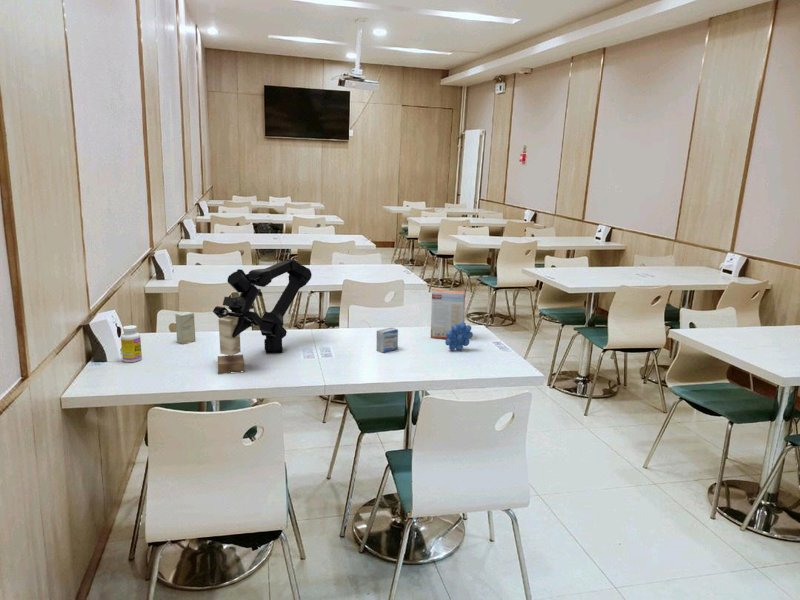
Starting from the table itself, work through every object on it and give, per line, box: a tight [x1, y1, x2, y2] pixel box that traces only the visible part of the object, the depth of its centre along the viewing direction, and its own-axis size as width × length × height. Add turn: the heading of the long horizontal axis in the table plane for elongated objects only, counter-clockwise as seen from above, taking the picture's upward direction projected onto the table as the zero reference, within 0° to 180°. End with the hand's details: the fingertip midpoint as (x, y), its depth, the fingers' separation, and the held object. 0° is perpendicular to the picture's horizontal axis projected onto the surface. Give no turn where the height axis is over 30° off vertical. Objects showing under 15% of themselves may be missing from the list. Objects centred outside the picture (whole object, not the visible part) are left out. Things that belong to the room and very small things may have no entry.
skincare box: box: [174, 311, 196, 345], centre depth 242 cm, size 6×4×12 cm
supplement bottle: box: [120, 324, 143, 363], centre depth 219 cm, size 7×7×13 cm
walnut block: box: [217, 353, 245, 375], centre depth 213 cm, size 9×9×4 cm
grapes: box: [444, 321, 474, 351], centre depth 240 cm, size 12×7×12 cm, turn 103°
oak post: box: [218, 316, 241, 356], centre depth 211 cm, size 5×5×13 cm
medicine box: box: [375, 327, 399, 354], centre depth 238 cm, size 8×4×9 cm, turn 131°
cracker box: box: [430, 289, 466, 340], centre depth 255 cm, size 14×6×21 cm, turn 77°
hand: (227, 336), depth 210 cm, fingers closed on oak post, 5 cm apart
